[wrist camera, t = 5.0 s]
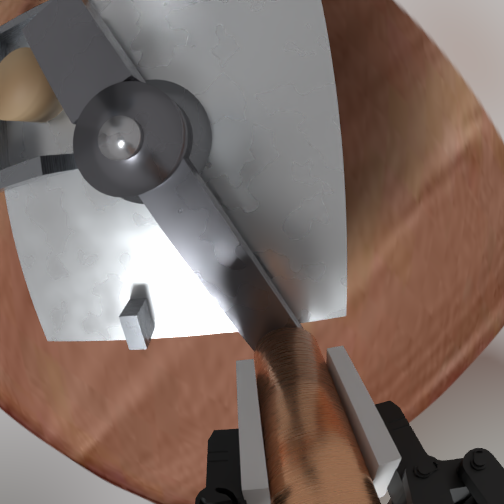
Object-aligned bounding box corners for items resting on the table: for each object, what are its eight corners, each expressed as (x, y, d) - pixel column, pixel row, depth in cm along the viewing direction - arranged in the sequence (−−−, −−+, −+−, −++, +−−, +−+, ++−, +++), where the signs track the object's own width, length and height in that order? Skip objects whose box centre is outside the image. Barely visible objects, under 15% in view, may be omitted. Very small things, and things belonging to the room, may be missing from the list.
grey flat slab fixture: (16, 47, 13) (-39, 28, 7) (306, -18, 13) (333, -71, 7) (60, 326, 19) (19, 376, 13) (336, 300, 19) (371, 355, 14)
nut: (20, 77, 12) (-13, 69, 9) (69, 50, 12) (40, 34, 9) (26, 132, 13) (-9, 132, 10) (77, 107, 13) (45, 101, 10)
